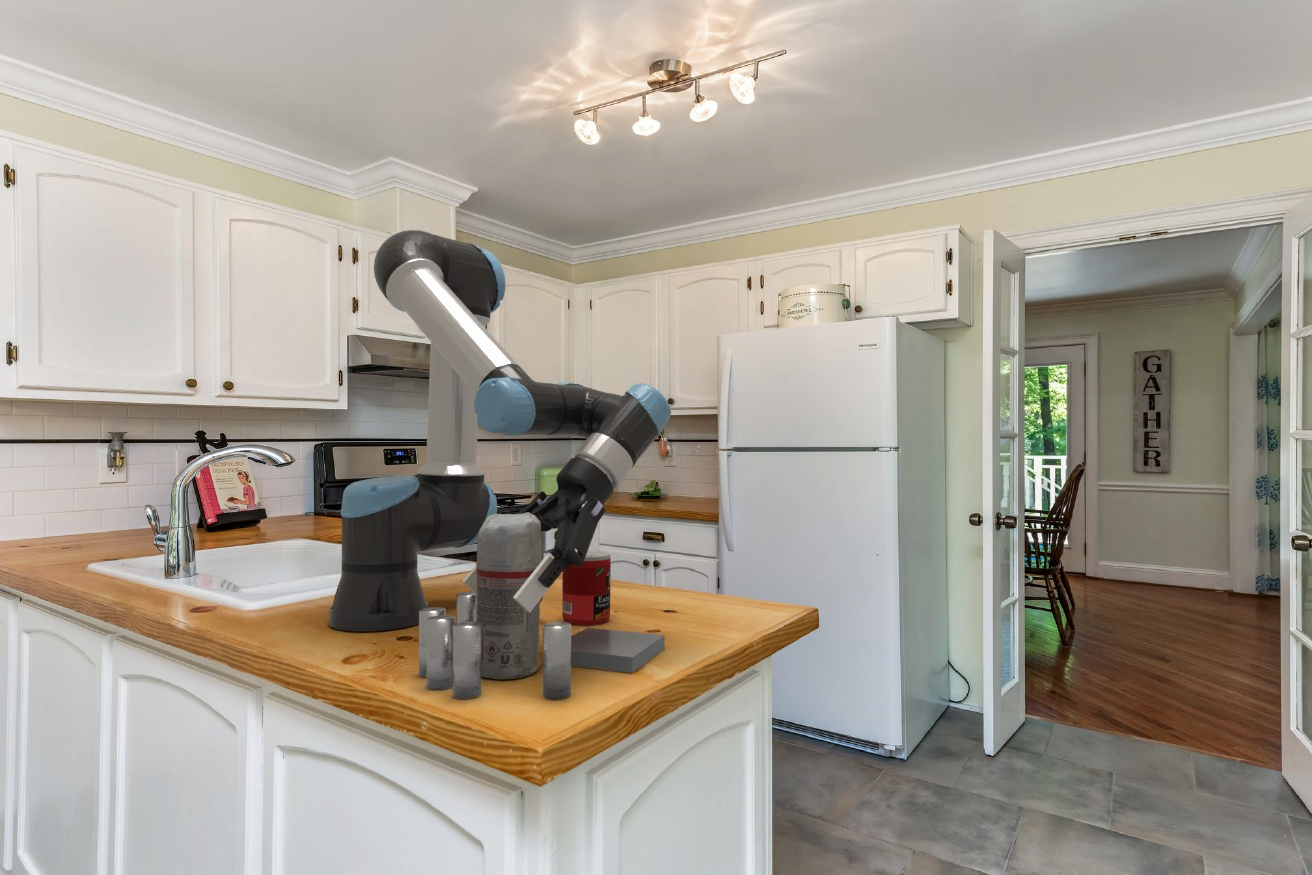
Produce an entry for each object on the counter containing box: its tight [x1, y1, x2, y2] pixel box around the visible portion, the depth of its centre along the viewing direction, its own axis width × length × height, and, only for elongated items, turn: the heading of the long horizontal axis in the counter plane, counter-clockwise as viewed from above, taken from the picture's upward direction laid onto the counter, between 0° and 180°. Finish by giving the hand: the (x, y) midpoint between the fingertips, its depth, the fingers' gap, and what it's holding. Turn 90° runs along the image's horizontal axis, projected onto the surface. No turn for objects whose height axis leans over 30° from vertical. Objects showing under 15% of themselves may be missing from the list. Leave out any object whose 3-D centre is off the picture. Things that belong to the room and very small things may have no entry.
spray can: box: [476, 512, 542, 680], centre depth 95 cm, size 8×8×20 cm
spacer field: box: [418, 591, 572, 701], centre depth 93 cm, size 23×18×8 cm
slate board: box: [571, 627, 666, 674], centre depth 102 cm, size 12×12×2 cm
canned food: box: [561, 550, 612, 626], centre depth 123 cm, size 8×8×11 cm
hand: (494, 596), depth 93 cm, fingers open, 13 cm apart
